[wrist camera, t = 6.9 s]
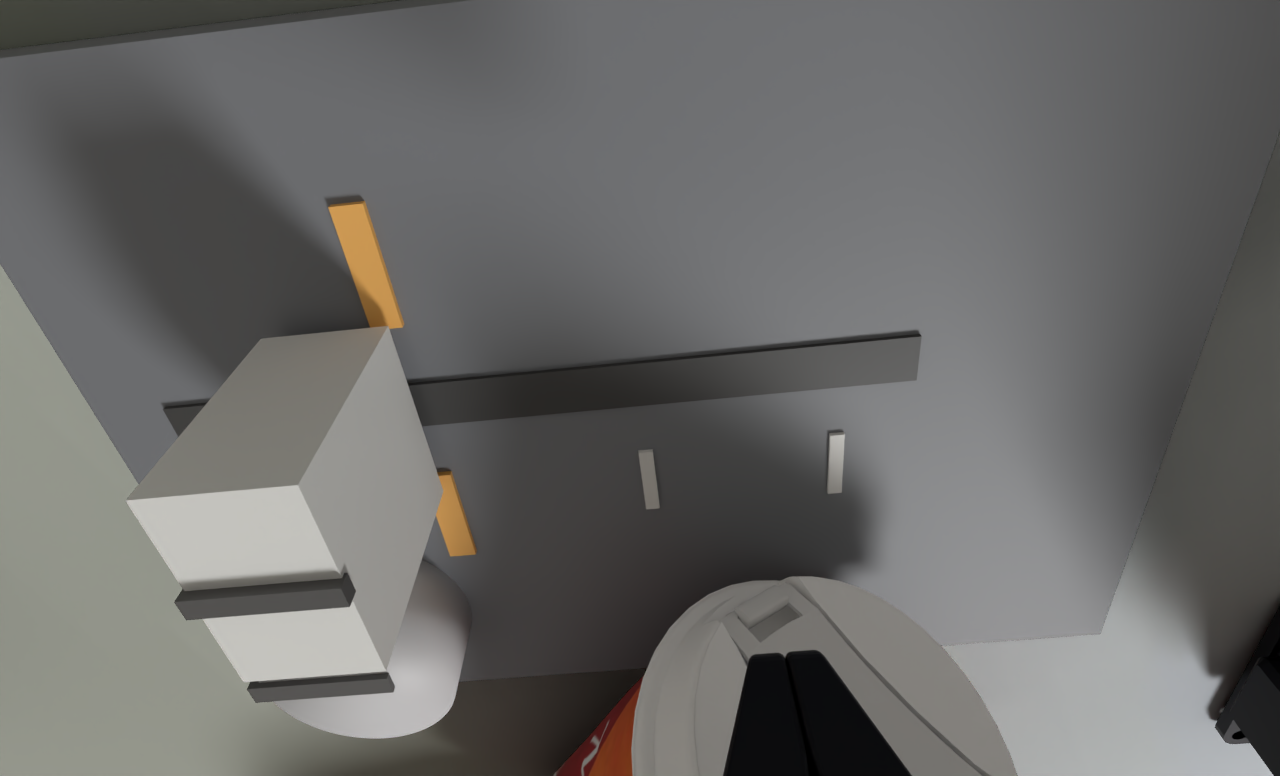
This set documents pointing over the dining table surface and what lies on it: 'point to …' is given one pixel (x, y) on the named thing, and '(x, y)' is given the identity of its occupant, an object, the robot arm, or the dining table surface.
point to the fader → (299, 506)
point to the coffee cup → (780, 623)
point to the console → (671, 288)
